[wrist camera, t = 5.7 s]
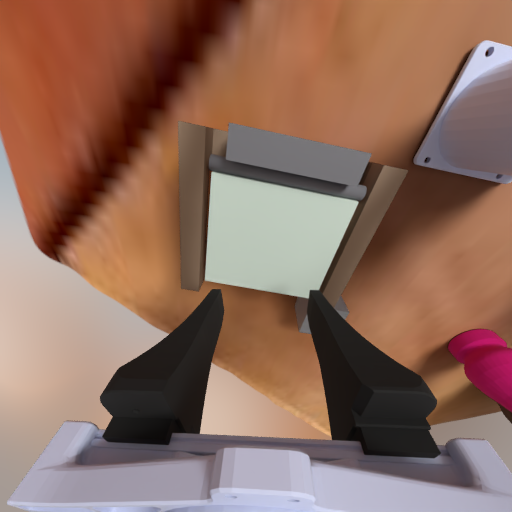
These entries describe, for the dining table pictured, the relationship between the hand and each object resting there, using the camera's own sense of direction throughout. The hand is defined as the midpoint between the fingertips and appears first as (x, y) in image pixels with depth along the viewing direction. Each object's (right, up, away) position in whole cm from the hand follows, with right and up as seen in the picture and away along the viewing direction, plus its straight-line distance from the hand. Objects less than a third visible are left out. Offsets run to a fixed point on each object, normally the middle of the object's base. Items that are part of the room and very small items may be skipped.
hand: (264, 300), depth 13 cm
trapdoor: (+1, +6, +2) cm, 6 cm away
